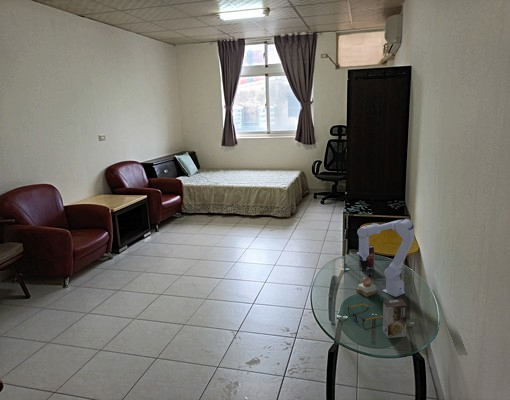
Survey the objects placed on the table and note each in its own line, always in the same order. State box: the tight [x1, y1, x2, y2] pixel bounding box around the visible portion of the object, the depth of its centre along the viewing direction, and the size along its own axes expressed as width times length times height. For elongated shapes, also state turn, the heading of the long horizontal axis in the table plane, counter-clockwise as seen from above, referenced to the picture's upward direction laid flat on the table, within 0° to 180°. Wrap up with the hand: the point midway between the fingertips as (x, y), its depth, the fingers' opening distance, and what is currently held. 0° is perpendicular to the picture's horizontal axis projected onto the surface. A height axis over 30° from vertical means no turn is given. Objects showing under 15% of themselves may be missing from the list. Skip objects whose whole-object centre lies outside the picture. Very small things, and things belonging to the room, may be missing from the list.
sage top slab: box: [357, 282, 377, 293], centre depth 220 cm, size 7×7×2 cm
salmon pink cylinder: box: [362, 276, 372, 287], centre depth 220 cm, size 4×4×4 cm
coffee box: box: [382, 298, 408, 339], centre depth 177 cm, size 9×6×16 cm
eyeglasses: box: [347, 303, 383, 325], centre depth 195 cm, size 14×14×4 cm
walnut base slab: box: [355, 287, 377, 298], centre depth 221 cm, size 8×8×2 cm
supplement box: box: [358, 244, 375, 271], centre depth 252 cm, size 9×5×16 cm, turn 89°
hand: (363, 267), depth 230 cm, fingers open, 7 cm apart
